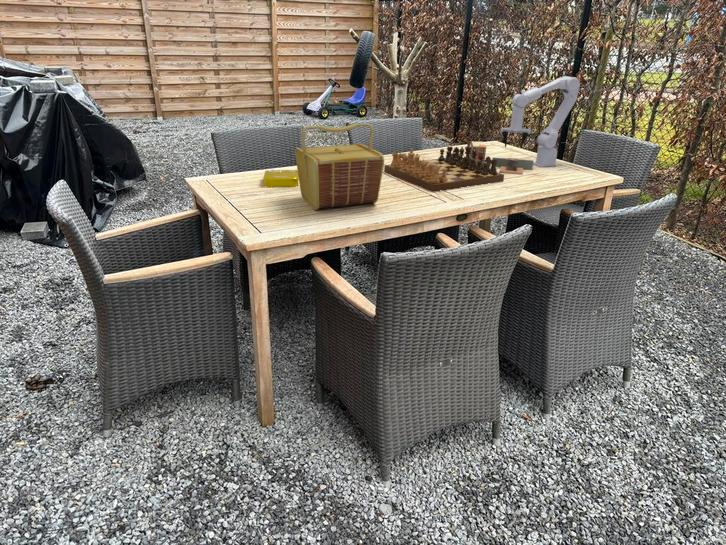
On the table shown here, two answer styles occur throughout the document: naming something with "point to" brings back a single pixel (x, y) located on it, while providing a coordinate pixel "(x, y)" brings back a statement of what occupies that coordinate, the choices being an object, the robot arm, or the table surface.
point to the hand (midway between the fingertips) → (513, 147)
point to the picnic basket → (339, 172)
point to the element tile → (281, 178)
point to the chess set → (445, 169)
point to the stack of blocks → (481, 149)
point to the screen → (521, 164)
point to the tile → (519, 171)
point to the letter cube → (512, 164)
